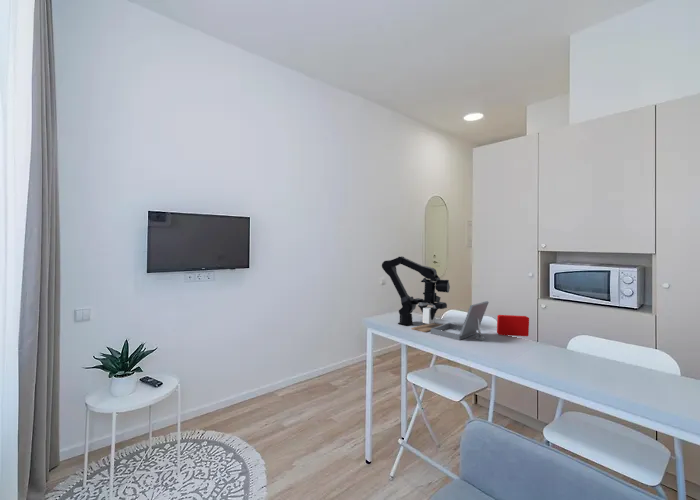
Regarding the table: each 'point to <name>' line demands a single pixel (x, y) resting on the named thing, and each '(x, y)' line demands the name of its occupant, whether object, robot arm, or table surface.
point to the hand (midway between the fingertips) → (428, 318)
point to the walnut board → (426, 327)
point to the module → (427, 315)
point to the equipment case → (452, 335)
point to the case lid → (473, 317)
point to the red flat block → (512, 325)
